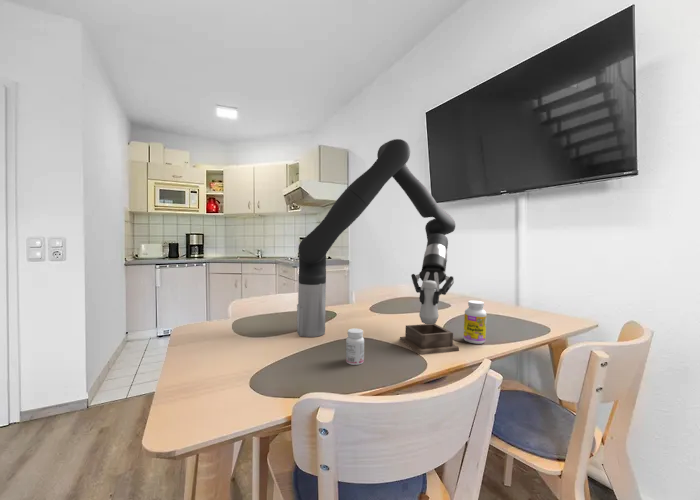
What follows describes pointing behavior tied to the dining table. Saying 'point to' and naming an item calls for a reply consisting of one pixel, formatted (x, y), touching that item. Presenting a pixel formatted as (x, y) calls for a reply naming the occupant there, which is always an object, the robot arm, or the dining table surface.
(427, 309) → the salt shaker
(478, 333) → the supplement bottle
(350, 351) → the pill bottle
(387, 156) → the robot arm
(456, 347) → the socket board
